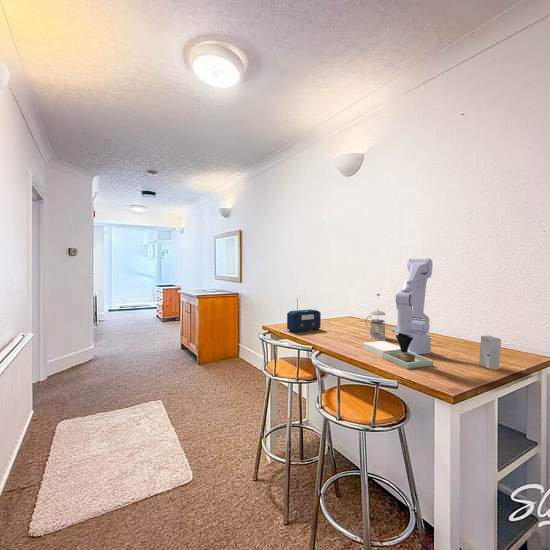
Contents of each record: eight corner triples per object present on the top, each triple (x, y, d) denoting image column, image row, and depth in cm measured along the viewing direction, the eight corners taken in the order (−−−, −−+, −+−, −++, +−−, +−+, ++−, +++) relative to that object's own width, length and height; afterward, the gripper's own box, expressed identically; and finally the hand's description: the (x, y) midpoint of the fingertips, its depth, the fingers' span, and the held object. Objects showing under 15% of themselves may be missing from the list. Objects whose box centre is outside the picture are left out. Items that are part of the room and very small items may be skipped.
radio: (293, 333, 180) (294, 300, 179) (286, 330, 188) (286, 298, 187) (321, 329, 190) (322, 298, 189) (313, 327, 198) (313, 297, 197)
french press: (388, 340, 164) (389, 294, 164) (366, 339, 166) (367, 294, 165) (385, 336, 174) (385, 292, 173) (364, 335, 176) (364, 292, 175)
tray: (406, 355, 136) (406, 350, 136) (433, 365, 122) (433, 360, 122) (382, 358, 132) (382, 353, 132) (407, 369, 118) (407, 363, 118)
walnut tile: (414, 355, 126) (414, 361, 126) (406, 352, 130) (406, 358, 130) (405, 356, 124) (404, 362, 124) (396, 353, 129) (396, 359, 129)
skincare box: (478, 364, 124) (479, 335, 123) (489, 364, 124) (490, 335, 123) (489, 369, 118) (489, 338, 117) (500, 369, 117) (501, 338, 117)
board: (383, 346, 150) (383, 340, 150) (405, 355, 136) (405, 348, 136) (362, 348, 146) (363, 342, 146) (383, 357, 132) (383, 351, 132)
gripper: (385, 318, 133) (385, 348, 134) (409, 324, 120) (409, 357, 120) (398, 317, 136) (398, 347, 136) (423, 323, 122) (423, 356, 122)
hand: (404, 352), depth 128 cm, fingers closed
